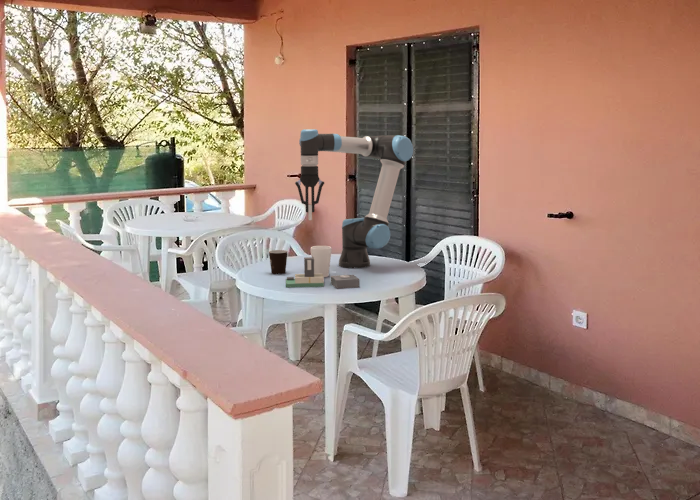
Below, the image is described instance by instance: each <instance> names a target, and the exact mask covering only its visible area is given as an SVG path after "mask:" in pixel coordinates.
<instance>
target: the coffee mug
mask: <svg viewBox="0 0 700 500" xmlns="http://www.w3.org/2000/svg"><path fill="white" fill-rule="evenodd" d="M268 256H269V257H268V258H269V264H270V270H271V274H272V275H285V274H286V270H287V262H288V261H287V260H288V250H284V249H274V250H273V249H272V250H269V251H268Z"/></svg>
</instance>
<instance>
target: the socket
mask: <svg viewBox="0 0 700 500" xmlns="http://www.w3.org/2000/svg"><path fill="white" fill-rule="evenodd" d="M294 276H295V277H294V279H295V283H324V284H325V281H324V279H325V277H323V274H314V277H305V276H304V273H296V274H294Z"/></svg>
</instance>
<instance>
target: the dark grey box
mask: <svg viewBox="0 0 700 500" xmlns="http://www.w3.org/2000/svg"><path fill="white" fill-rule="evenodd" d="M330 285H331V286H332V287H334V288H335V289H336V290H338V289H354V288H360V277H357V276H356V275H355V274H342V275H341V274H339V275H330Z"/></svg>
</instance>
